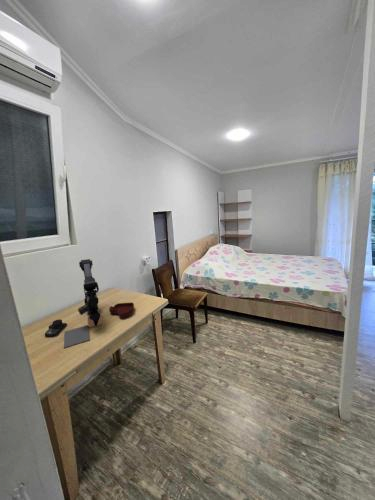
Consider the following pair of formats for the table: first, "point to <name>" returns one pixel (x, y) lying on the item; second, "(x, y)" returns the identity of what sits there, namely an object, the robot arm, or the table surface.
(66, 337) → the mat
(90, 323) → the tile
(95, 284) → the robot arm
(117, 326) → the table surface
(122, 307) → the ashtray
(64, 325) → the film camera
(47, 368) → the table surface
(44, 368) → the table surface
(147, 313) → the table surface
